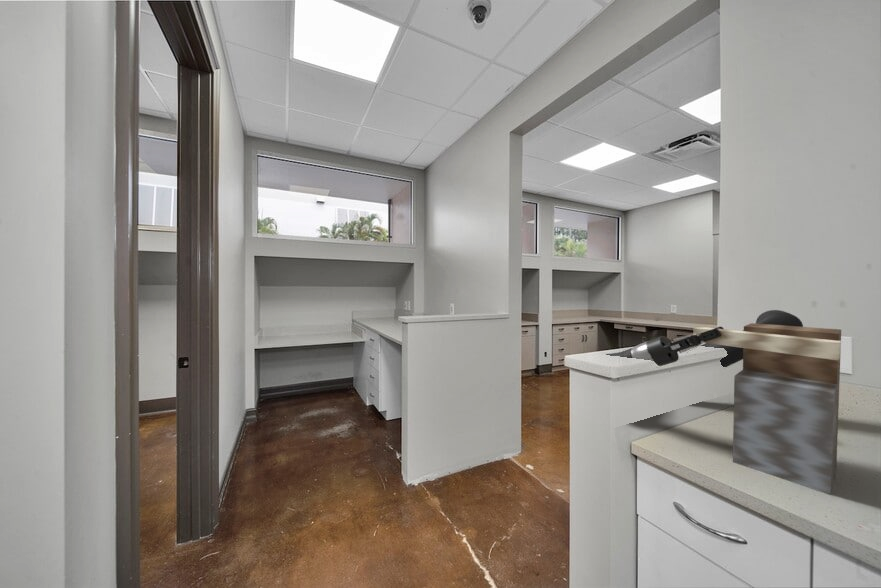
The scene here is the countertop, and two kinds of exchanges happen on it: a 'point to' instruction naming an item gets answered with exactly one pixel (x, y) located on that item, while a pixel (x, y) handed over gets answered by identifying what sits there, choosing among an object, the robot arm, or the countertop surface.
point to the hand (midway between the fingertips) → (721, 331)
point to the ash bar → (776, 343)
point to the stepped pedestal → (788, 411)
